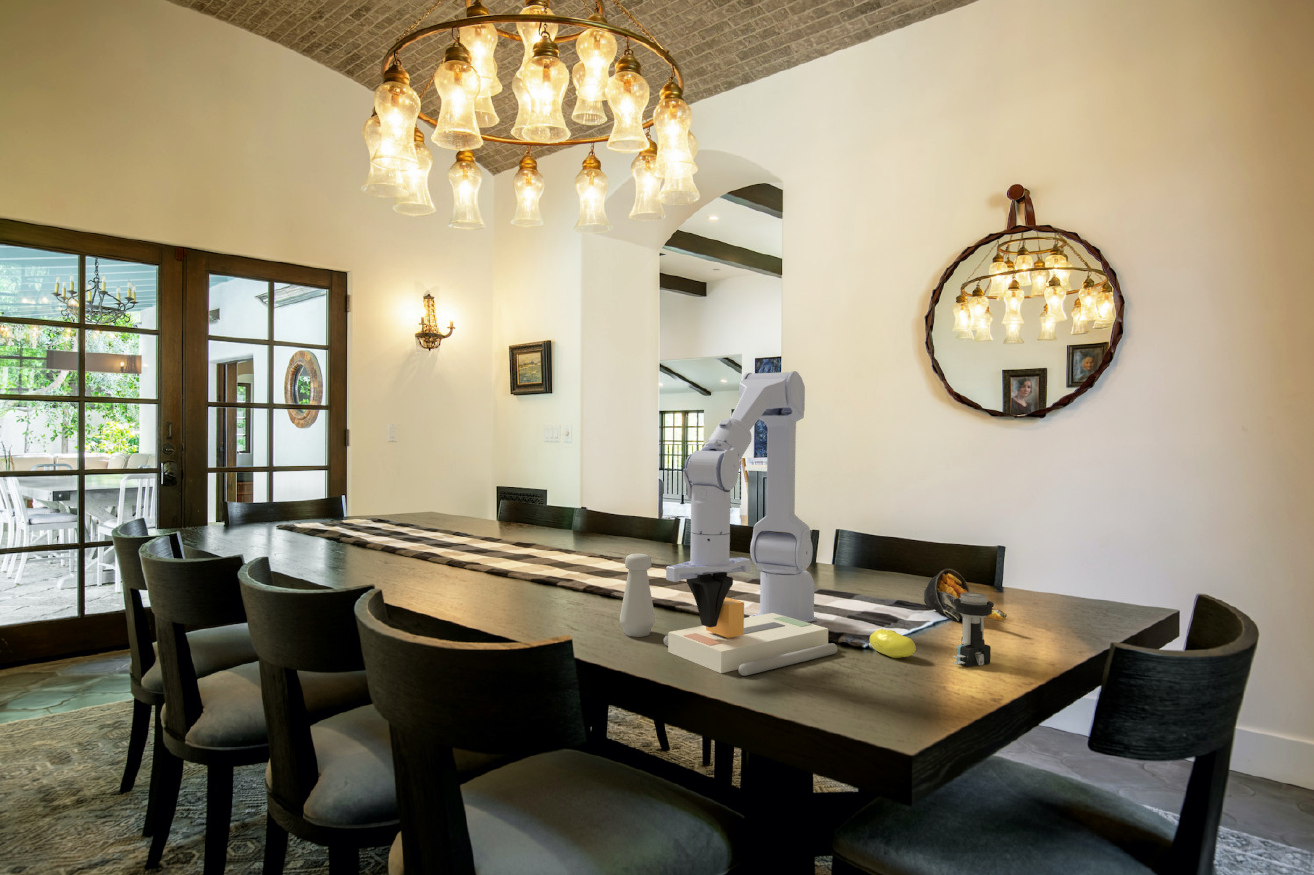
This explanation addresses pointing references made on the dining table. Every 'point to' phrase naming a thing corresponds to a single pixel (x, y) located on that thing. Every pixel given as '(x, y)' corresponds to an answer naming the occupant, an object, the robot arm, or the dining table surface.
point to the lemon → (892, 643)
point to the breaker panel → (746, 642)
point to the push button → (973, 629)
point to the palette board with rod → (783, 658)
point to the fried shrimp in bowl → (950, 594)
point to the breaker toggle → (730, 619)
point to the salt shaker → (637, 597)
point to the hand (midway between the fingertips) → (708, 625)
